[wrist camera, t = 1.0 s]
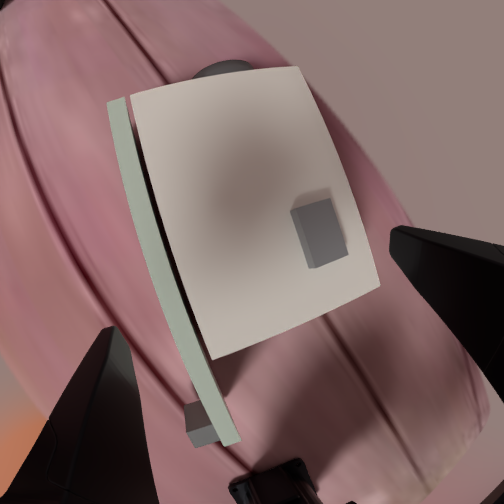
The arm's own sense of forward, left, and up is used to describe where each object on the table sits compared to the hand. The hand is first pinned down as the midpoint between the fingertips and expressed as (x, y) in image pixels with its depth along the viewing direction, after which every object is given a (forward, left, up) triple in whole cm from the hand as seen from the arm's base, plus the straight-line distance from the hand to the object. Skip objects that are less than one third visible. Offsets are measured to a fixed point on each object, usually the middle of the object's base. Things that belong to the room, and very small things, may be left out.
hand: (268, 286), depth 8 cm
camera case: (+4, -3, -11) cm, 12 cm away
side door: (+1, +4, -11) cm, 11 cm away
